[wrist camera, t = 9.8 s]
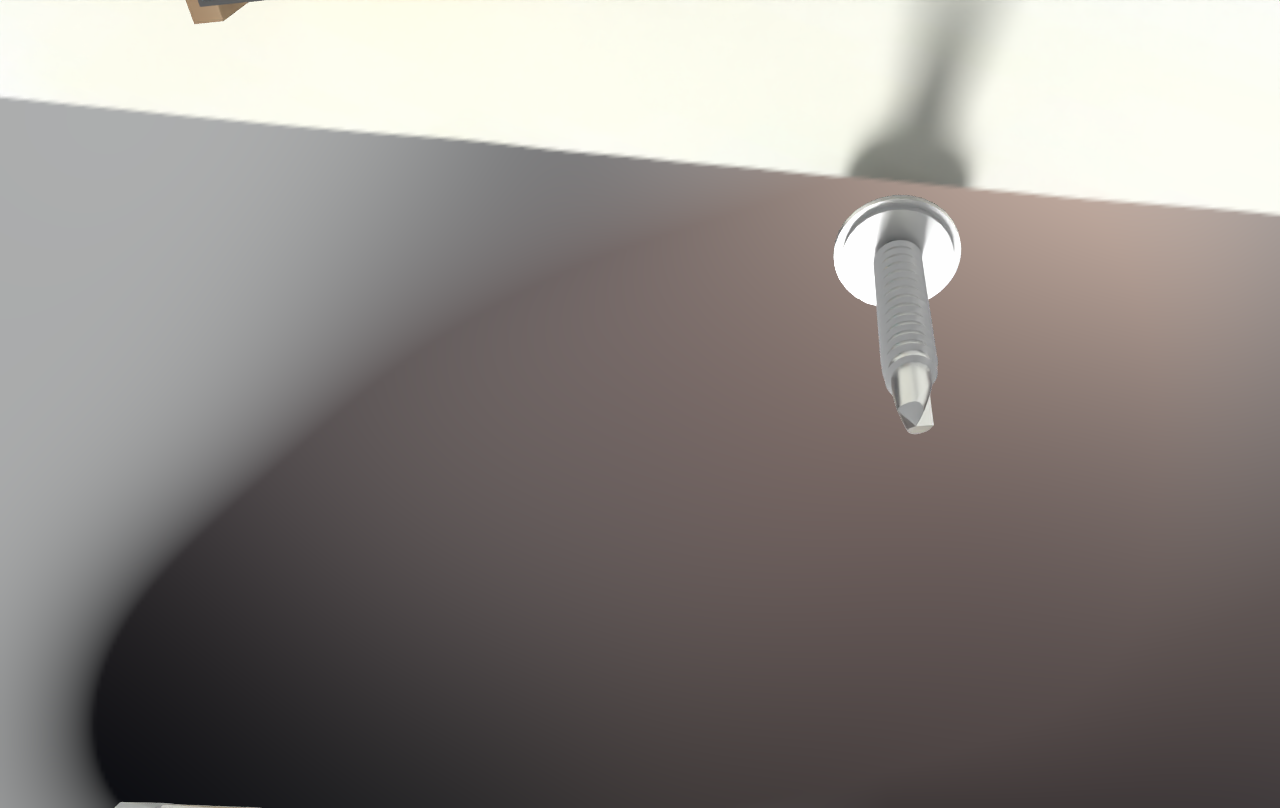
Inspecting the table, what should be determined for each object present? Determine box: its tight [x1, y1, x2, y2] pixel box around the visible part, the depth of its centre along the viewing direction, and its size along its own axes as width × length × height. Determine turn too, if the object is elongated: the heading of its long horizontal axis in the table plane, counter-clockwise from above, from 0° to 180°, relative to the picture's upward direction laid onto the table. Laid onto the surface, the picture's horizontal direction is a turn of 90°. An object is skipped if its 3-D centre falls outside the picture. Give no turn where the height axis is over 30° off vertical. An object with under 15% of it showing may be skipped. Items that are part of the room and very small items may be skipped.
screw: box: [834, 195, 961, 434], centre depth 40 cm, size 13×5×5 cm
